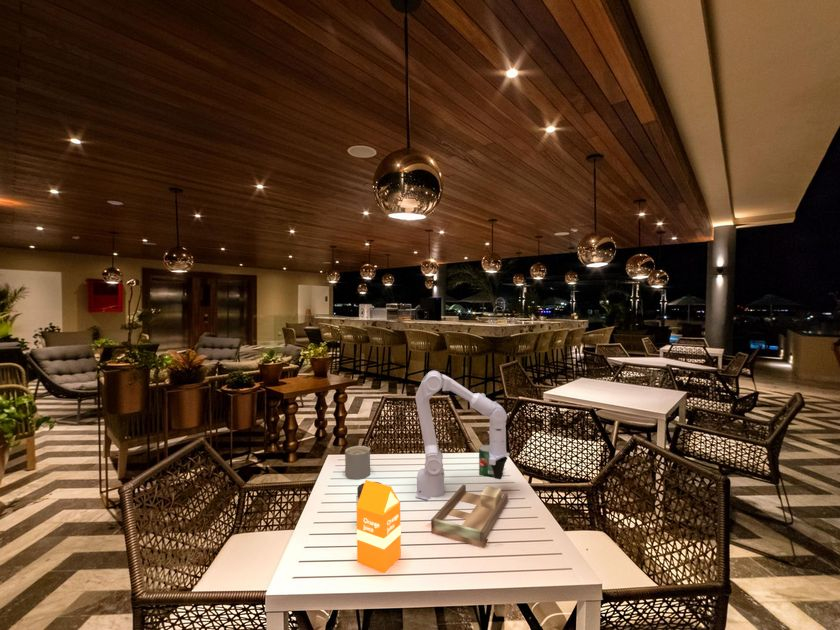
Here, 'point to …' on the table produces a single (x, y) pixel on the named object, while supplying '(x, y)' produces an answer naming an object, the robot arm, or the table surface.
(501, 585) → the table surface
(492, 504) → the maple block
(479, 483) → the table surface
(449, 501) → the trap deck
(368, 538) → the orange juice
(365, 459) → the coffee mug
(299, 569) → the table surface
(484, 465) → the canned tomato
